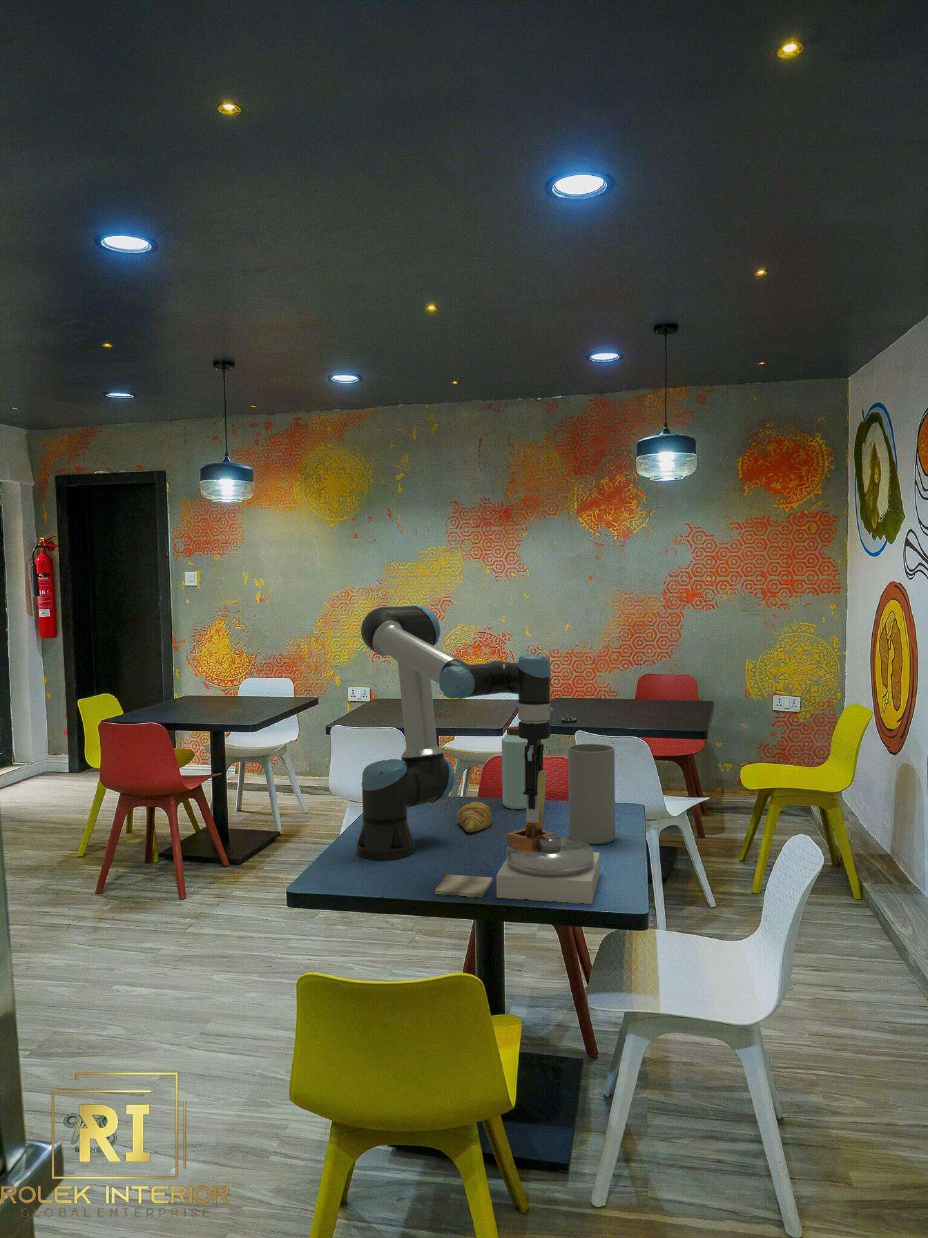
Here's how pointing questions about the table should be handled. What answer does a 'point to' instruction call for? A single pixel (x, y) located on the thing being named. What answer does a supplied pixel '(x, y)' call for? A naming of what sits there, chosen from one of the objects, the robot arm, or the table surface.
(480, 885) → the birch pad
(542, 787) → the brass capsule
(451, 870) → the table surface
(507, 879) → the beige square block
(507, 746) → the water bottle
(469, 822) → the croissant
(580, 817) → the cylinder vase
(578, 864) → the silver metal disc
